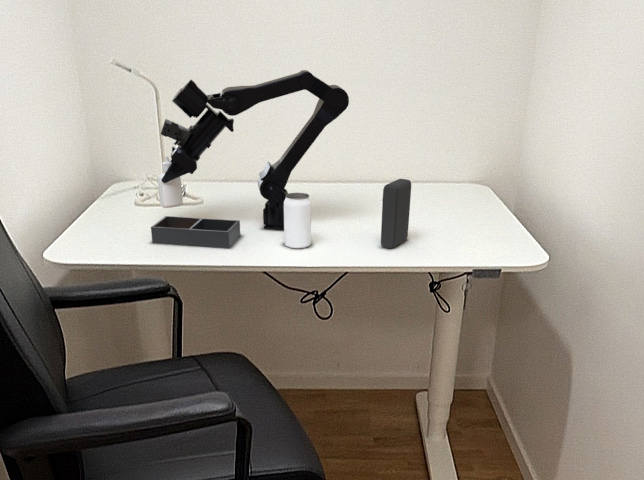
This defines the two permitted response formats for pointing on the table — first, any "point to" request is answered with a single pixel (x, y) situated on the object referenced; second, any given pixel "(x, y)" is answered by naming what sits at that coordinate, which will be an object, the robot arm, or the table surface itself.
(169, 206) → the eye dropper bottle
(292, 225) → the can
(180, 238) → the divided tray
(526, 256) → the table surface
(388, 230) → the dark grey upright block
